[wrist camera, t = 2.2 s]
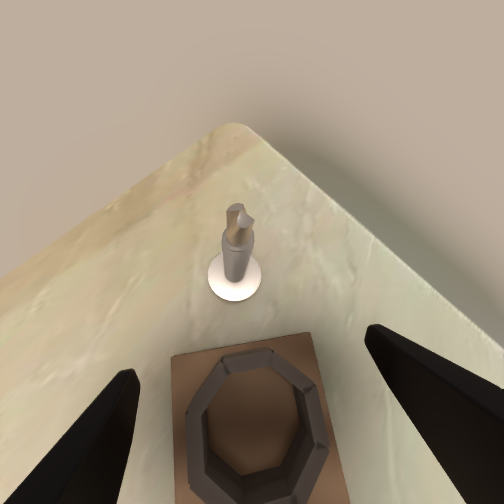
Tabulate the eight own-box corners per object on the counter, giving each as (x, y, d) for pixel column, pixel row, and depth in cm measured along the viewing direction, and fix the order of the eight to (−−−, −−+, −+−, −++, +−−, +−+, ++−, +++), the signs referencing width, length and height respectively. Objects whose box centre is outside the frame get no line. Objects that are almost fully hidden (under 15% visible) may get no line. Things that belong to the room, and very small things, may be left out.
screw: (251, 309, 20) (202, 295, 20) (263, 263, 22) (218, 250, 22) (283, 278, 8) (163, 244, 8) (304, 181, 10) (205, 153, 10)
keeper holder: (347, 515, 16) (385, 576, 12) (181, 569, 14) (163, 660, 10) (305, 332, 20) (324, 332, 16) (174, 355, 18) (159, 362, 14)
